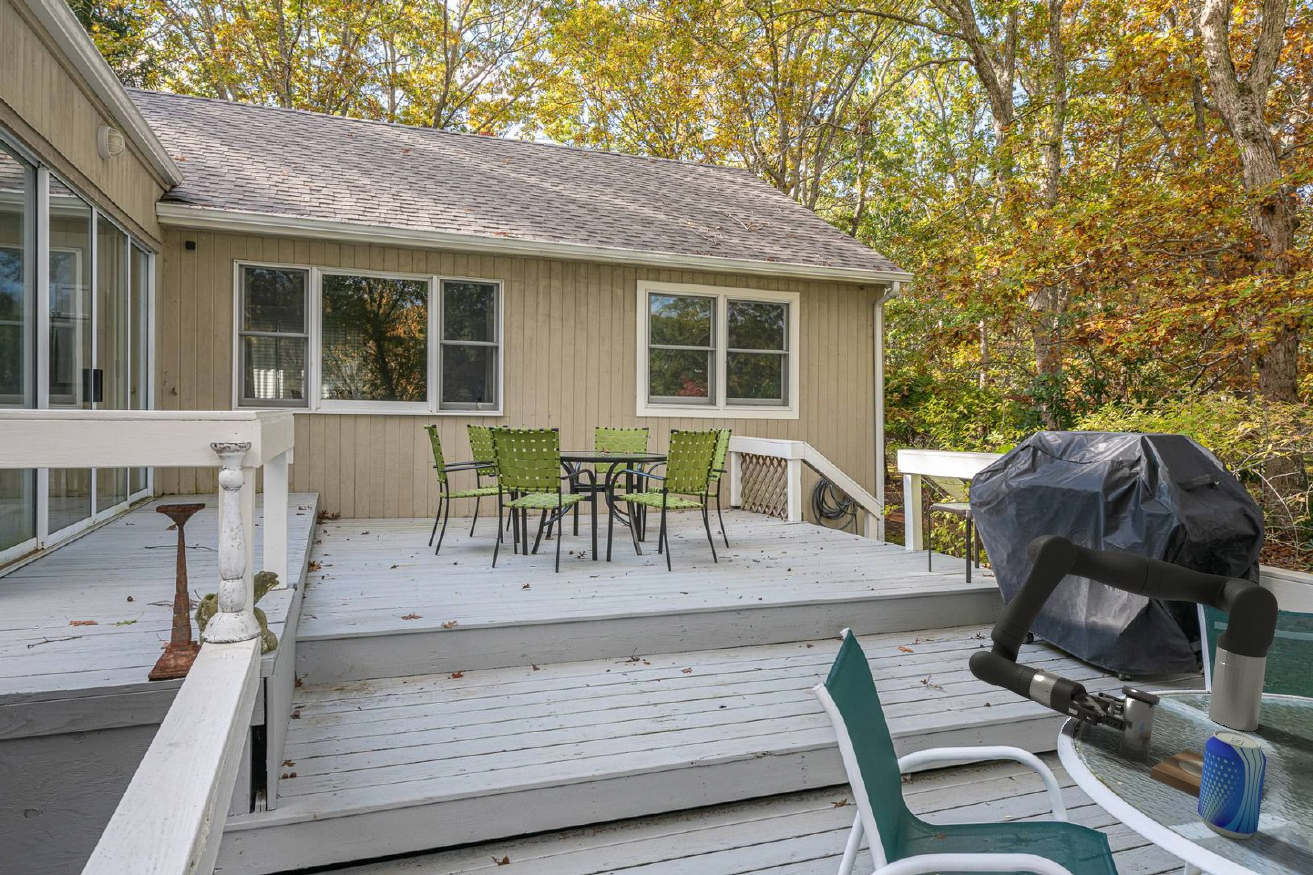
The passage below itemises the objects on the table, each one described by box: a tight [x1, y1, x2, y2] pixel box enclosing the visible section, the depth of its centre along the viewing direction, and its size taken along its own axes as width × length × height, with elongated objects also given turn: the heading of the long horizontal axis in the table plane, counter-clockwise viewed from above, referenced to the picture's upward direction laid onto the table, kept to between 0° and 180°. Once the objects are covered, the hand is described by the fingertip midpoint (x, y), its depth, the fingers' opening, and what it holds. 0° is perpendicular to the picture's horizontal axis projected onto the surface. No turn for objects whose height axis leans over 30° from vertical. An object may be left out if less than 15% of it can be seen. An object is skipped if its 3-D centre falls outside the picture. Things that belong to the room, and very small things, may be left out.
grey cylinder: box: [1118, 684, 1161, 763], centre depth 159 cm, size 5×6×14 cm
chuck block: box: [1149, 748, 1204, 799], centre depth 150 cm, size 16×12×2 cm
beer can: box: [1197, 729, 1267, 840], centre depth 133 cm, size 8×8×16 cm
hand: (1135, 722), depth 159 cm, fingers open, 8 cm apart
